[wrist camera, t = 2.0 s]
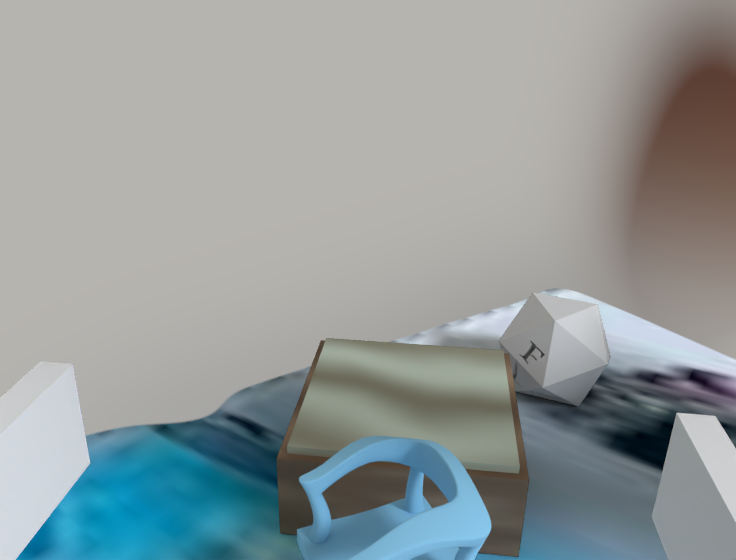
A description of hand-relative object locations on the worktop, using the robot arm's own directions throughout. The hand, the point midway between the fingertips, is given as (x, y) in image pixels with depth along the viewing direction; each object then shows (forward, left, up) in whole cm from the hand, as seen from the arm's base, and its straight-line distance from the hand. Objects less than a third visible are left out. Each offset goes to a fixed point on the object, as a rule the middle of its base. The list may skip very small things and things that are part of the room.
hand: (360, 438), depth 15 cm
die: (-36, -12, -21) cm, 43 cm away
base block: (-20, -14, -21) cm, 32 cm away
